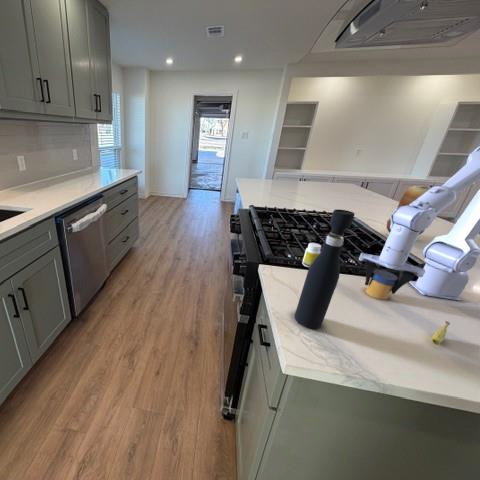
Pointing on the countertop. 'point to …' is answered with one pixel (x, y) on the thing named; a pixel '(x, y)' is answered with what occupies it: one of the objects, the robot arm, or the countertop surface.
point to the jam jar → (378, 289)
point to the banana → (440, 334)
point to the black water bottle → (323, 274)
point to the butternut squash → (410, 199)
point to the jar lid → (384, 277)
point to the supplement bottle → (311, 254)
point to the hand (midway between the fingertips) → (379, 287)
